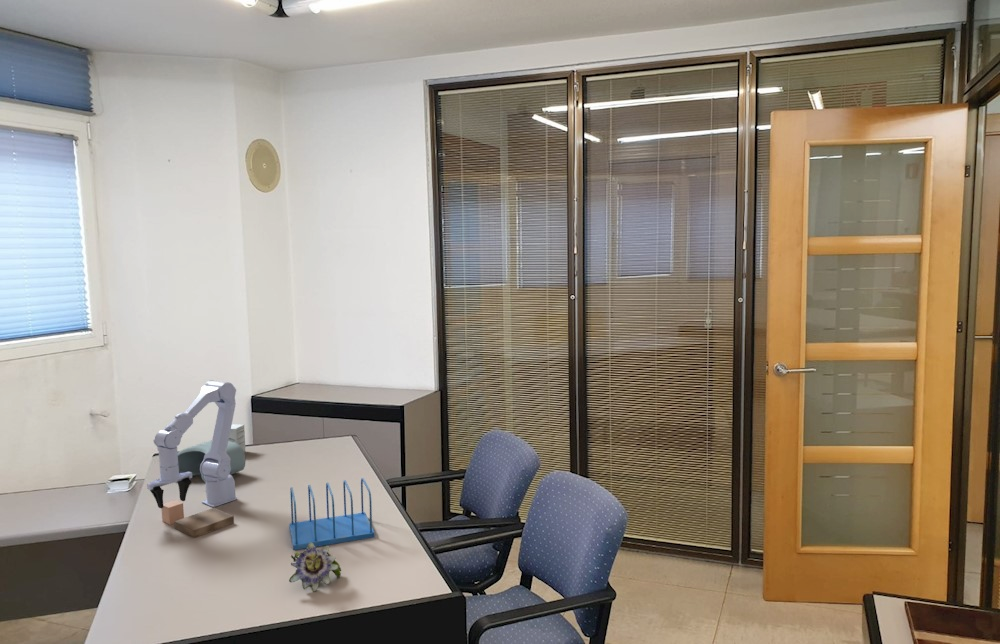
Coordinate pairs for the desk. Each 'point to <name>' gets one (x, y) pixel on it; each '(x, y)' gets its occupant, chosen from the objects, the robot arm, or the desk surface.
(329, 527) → the file sorter
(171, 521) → the terracotta block
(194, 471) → the green rounded shell
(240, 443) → the supplement box
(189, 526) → the block
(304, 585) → the passion flower
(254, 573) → the desk surface
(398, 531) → the desk surface
